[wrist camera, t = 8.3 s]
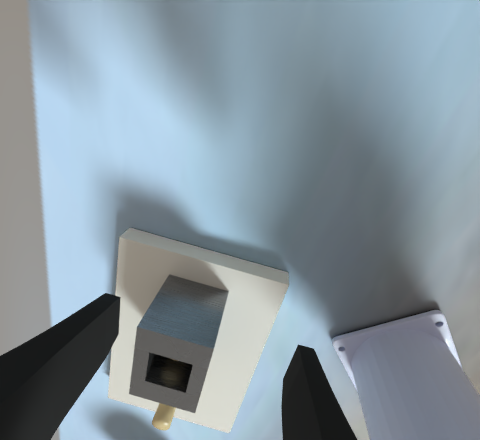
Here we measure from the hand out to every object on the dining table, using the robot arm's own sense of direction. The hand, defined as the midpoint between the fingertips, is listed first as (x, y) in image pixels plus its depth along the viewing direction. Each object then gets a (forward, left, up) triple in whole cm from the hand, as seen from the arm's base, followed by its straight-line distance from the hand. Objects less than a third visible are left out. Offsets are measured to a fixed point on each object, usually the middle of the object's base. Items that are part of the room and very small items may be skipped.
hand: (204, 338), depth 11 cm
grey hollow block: (-4, +6, -8) cm, 11 cm away
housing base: (-7, +9, -9) cm, 15 cm away
